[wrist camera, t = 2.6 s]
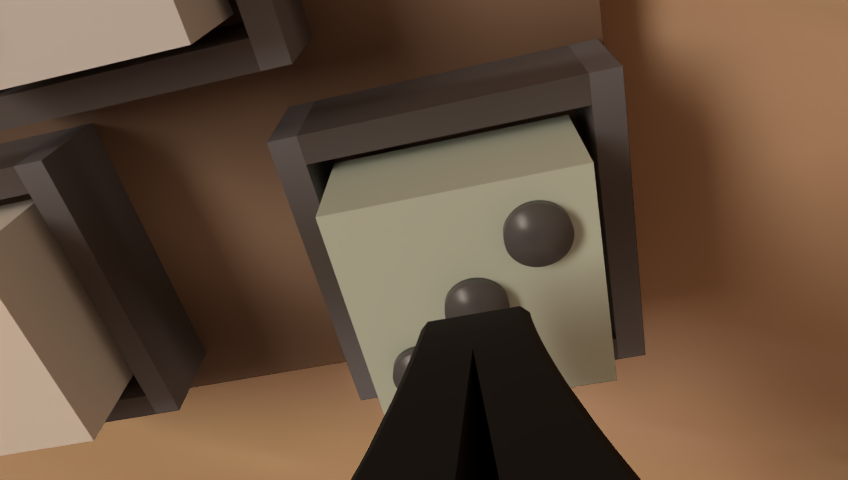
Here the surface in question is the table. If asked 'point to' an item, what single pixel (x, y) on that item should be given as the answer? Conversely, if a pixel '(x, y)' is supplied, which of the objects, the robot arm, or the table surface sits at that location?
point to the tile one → (49, 342)
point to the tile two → (95, 33)
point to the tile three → (472, 245)
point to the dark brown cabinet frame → (290, 168)
